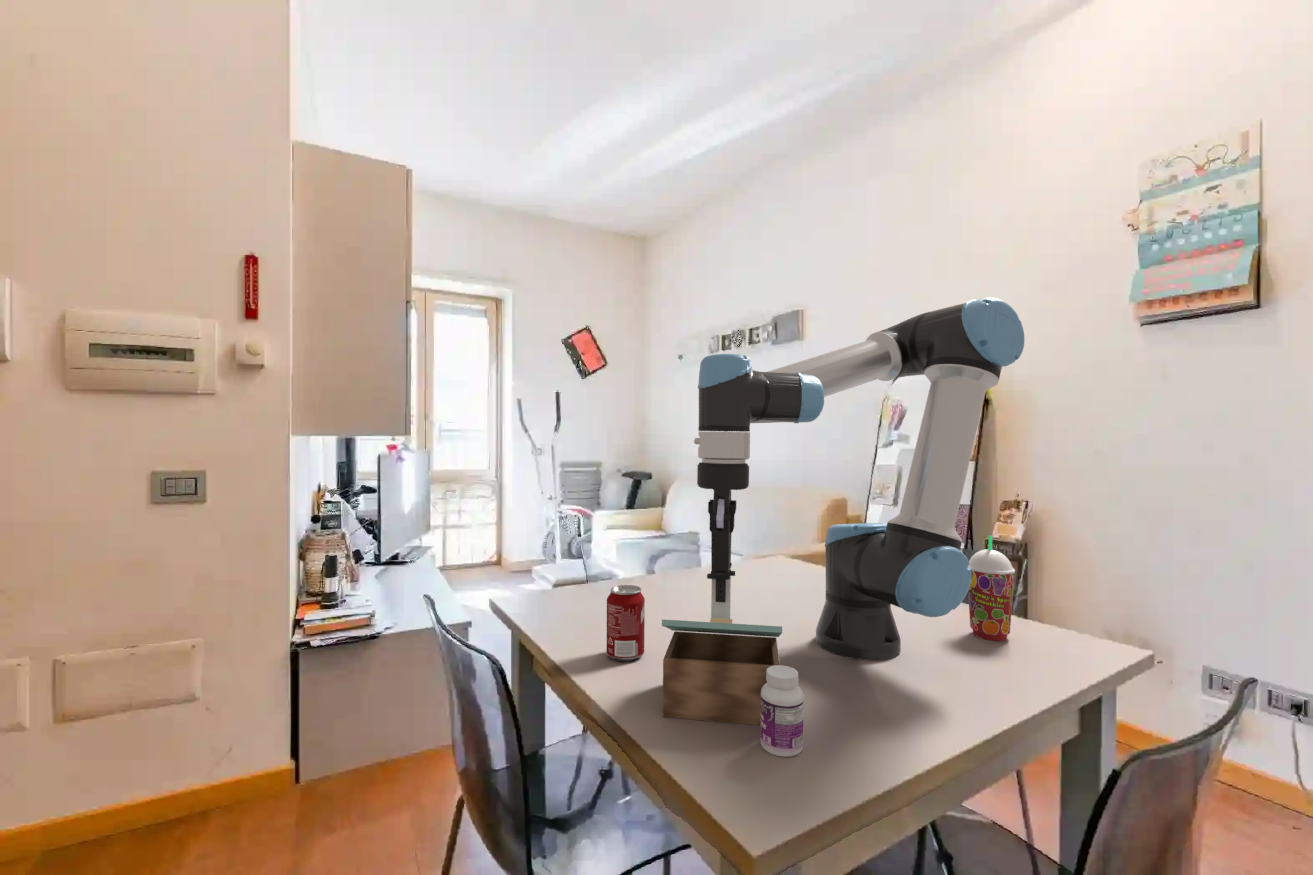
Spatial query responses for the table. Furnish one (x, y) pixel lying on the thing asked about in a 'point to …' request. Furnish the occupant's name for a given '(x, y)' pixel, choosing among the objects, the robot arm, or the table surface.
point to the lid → (722, 627)
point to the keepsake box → (716, 676)
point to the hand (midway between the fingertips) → (720, 621)
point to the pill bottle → (782, 712)
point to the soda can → (625, 623)
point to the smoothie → (990, 594)
